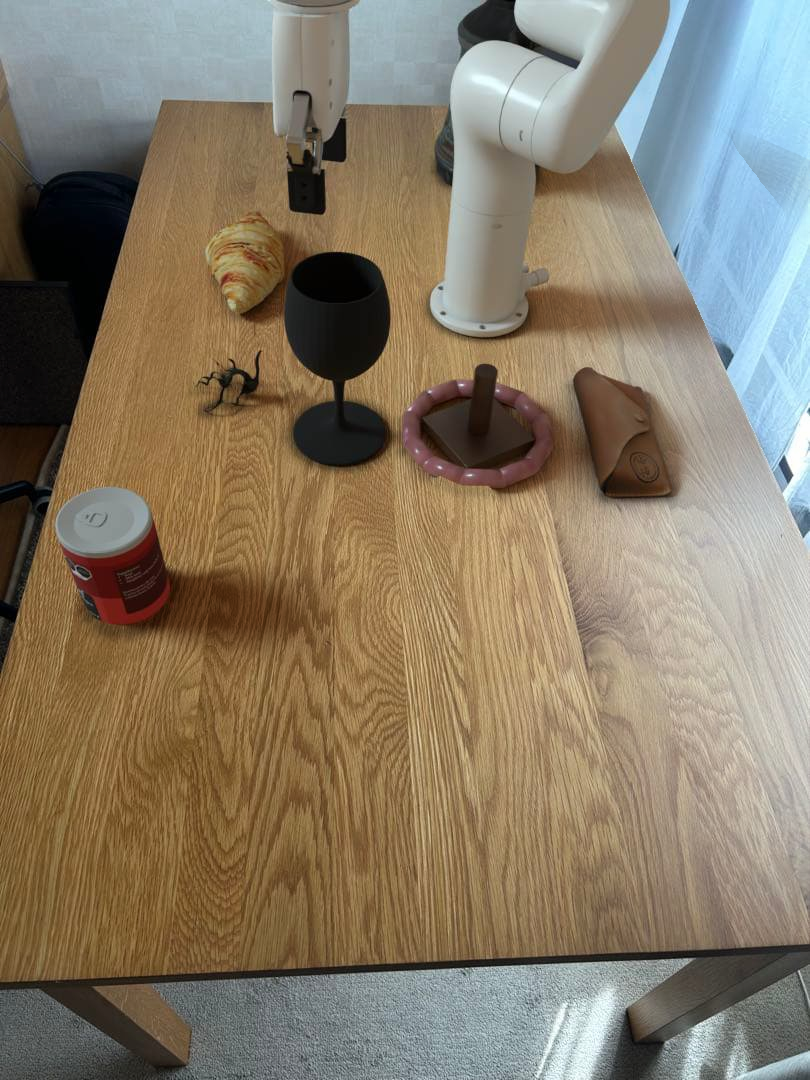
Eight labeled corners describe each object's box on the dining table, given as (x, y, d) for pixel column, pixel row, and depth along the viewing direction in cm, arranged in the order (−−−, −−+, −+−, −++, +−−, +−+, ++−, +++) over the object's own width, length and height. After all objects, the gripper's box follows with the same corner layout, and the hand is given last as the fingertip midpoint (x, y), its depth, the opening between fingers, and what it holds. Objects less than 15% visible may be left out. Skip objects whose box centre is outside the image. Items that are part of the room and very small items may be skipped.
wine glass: (399, 416, 102) (406, 260, 87) (367, 477, 95) (369, 320, 80) (314, 393, 104) (307, 237, 89) (277, 452, 97) (262, 294, 82)
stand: (486, 402, 104) (496, 334, 97) (533, 449, 99) (547, 381, 92) (421, 427, 101) (426, 359, 94) (466, 477, 96) (475, 410, 89)
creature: (189, 419, 102) (254, 418, 100) (172, 381, 98) (239, 379, 96) (213, 376, 107) (275, 374, 105) (197, 338, 103) (261, 336, 101)
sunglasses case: (678, 494, 95) (660, 455, 90) (614, 517, 97) (594, 480, 93) (640, 383, 107) (623, 344, 102) (584, 407, 109) (565, 369, 104)
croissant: (264, 344, 115) (291, 298, 109) (189, 312, 111) (212, 263, 105) (275, 250, 128) (299, 205, 123) (208, 218, 124) (230, 170, 119)
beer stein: (485, 135, 147) (504, -38, 128) (575, 182, 139) (610, 4, 120) (411, 166, 140) (420, -14, 121) (501, 218, 131) (526, 33, 112)
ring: (454, 512, 93) (456, 499, 91) (374, 417, 102) (374, 404, 100) (580, 458, 99) (584, 445, 97) (494, 373, 108) (496, 359, 106)
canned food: (90, 566, 86) (61, 487, 78) (175, 563, 87) (155, 484, 78) (78, 632, 81) (46, 555, 73) (168, 628, 82) (146, 551, 74)
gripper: (290, -63, 76) (299, 137, 89) (235, 12, 65) (255, 229, 78) (378, -55, 75) (374, 145, 88) (338, 22, 64) (341, 239, 77)
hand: (319, 184), depth 83 cm, fingers open, 9 cm apart
